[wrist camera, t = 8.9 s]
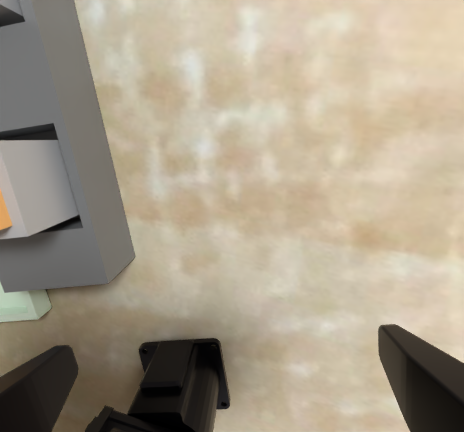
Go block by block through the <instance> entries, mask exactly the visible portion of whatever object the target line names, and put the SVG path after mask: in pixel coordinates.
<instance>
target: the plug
mask: <svg viewBox="0 0 464 432" xmlns="http://www.w3.org/2000/svg"><path fill="white" fill-rule="evenodd" d="M77 215H79V211H78V208H77V204H76V201H75V197H74V193H73V190H72V186H71V183H70V179H69V176H68V172H67V169H66V165H65V162H64V158H63V154H62V151H61V147H60V144H59V140H0V239H8V238H18V237H28V236H30V235H33V234H35V233H37V232H40V231H42V230H44V229H47V228H49V227H51V226H54V225H56V224H58V223H61V222H63V221H65V220H68V219H70V218H72V217H75V216H77Z"/></svg>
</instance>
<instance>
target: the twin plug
mask: <svg viewBox="0 0 464 432" xmlns="http://www.w3.org/2000/svg"><path fill="white" fill-rule="evenodd" d="M21 22H25V20H24V16H23V13H22V9H21V6H20V2H19V0H0V27H2V26H7V25H12V24H16V23H21Z"/></svg>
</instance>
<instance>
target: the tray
mask: <svg viewBox="0 0 464 432" xmlns="http://www.w3.org/2000/svg"><path fill="white" fill-rule="evenodd" d="M51 308H52V306H51V303H50V300H49V297H48V294H47V292H46V289H42V290H31V291H20V292H9V293H4V290H3V288H2V285H1V282H0V322H9V321H22V320H35V319H39V318H40V317H41V316H43V315H44V314H45V313H46V312H48V311H49V310H50V309H51Z"/></svg>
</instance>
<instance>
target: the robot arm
mask: <svg viewBox="0 0 464 432" xmlns="http://www.w3.org/2000/svg"><path fill="white" fill-rule="evenodd" d="M212 345H215V347H214V346H212ZM378 346H379V357H380V360H381V363H382V365H383V368H384V370H385V373H386V375H387V378H388V380H389V383H390V385H391V387H392V390H393V392H394V395H395V397H396V400H397V402H398V405H399V407H400V410H401V412H402V415H403V417H404V419H405V421H406V424H407V426H408V428H409V430H410V432H464V363H463V362H461V361H459V360H457V359H456V358H454V357H452V356H450V355H449V354H447V353H445V352H443V351H442V350H440V349H438V348H436V347H435V346H433V345H431V344H429V343H428V342H426V341H424V340H422V339H421V338H419V337H417V336H415V335H414V334H412V333H410V332H408V331H407V330H405V329H403V328H401V327H400V326H398V325H395V324H390V325H381V326H380V327H379V329H378ZM145 349H147V350H148V351H146V350H145ZM139 353H140V357H141V361H142V365H143V369H144V373H145V374H144V376H143V378H142V380H141V382H140V385H139V386H140V387H139V389H138V392H137V394H136V396H135V398H134V400H133V402H132V404H131V407H130V409H129V411H128V413H127V414H124V413H121V412H118V411H115V410H114V408H112V407H109V406H106V405H105V407H104V408H103V410H102V411H101V413H100V414H99V415H98V417H96V416H95V418H94V419H93V421H92V422H91V423H90V424H89V425H88V427H87V428H86V430H85V432H213V428H214V422H215V415H216V409H227V408H229V406H230V396H229V390H228V384H227V379H226V373H225V367H224V361H223V355H222V350H221V344H220V341H219V340H217V339H214V338H211V339H196V340H179V341H163V342H149V343H143V344H142V345H141V347H140V349H139ZM77 374H78V365H77V362H76V359H75V356H74V353H73V350H72V348H71V347H70V346H69V345H61V346H55V347H53V348H51V349H49V350H47V351H46V352H44V353H42V354H40V355H38V356H37V357H35V358H33V359H31V360H30V361H28V362H26V363H24V364H22V365H21V366H19V367H17V368H15V369H13V370H12V371H10V372H8V373H6V374H5V375H3V376H1V377H0V432H51V431H52V429H53V427H54V425H55V423H56V421H57V418H58V416H59V414H60V412H61V410H62V408H63V405H64V403H65V401H66V399H67V397H68V395H69V392H70V390H71V388H72V386H73V384H74V381H75V379H76V377H77Z"/></svg>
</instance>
